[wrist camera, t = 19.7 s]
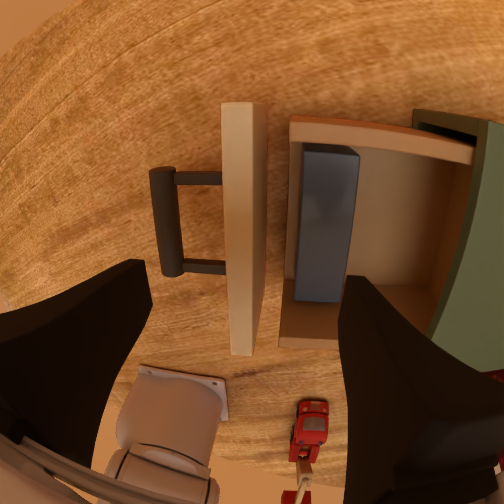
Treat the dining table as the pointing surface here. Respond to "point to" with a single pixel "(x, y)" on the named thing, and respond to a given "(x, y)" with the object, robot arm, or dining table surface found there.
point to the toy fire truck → (306, 446)
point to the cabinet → (474, 249)
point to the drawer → (364, 225)
